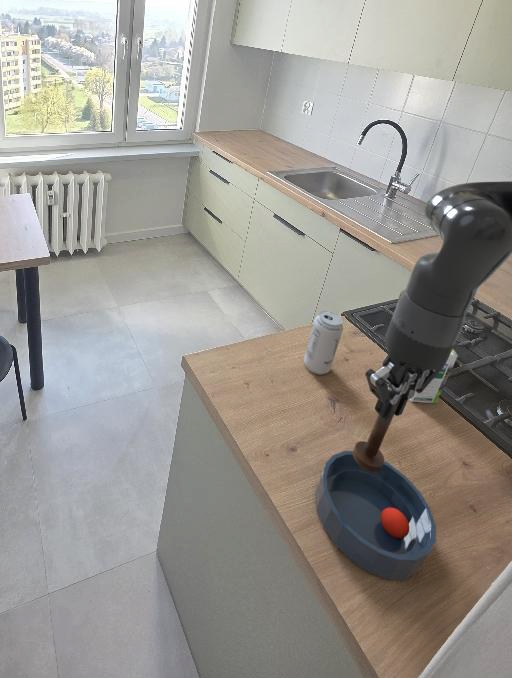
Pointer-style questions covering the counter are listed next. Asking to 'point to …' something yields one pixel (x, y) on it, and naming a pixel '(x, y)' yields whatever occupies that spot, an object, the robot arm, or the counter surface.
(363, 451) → the brown wooden pestle
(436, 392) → the syrup box
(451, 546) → the counter surface
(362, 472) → the bowl
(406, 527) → the ball
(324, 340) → the energy drink can
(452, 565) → the counter surface
